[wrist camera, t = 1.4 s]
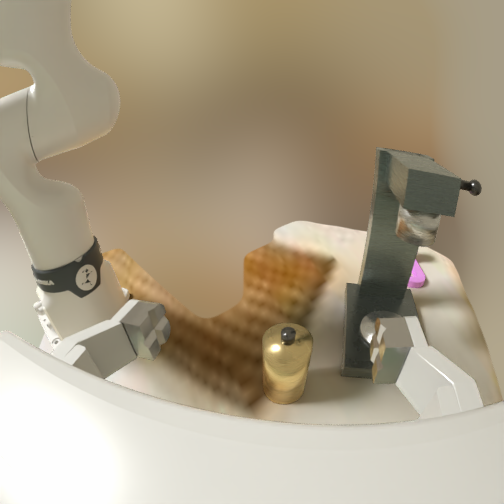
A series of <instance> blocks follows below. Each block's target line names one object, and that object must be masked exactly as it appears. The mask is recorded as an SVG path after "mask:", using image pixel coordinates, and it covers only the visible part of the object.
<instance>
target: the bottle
mask: <svg viewBox="0 0 504 504" xmlns="http://www.w3.org/2000/svg"><path fill="white" fill-rule="evenodd" d="M262 346H263V390H264V394H265V395H266V397H267V398H268V399H269V400H271V401H272V402H274V403H277V404H290V403H293V402H295V401H297V400H298V399H299V398H300V397H301V396H302V394H303V392H304V387H305V382H306V378H307V372H308V367H309V362H310V357H311V351H312V346H313V338H312V335H311V333H310V332H309V331H308V330H307V329H306V328H304V327H303V326H301V325H298V324H294V323H280V324H277V325H274V326H272V327H270V328H269V329H268V330H267V331H266V332H265V333H264V335H263V339H262Z"/></svg>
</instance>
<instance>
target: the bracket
mask: <svg viewBox="0 0 504 504" xmlns="http://www.w3.org/2000/svg"><path fill="white" fill-rule="evenodd" d="M412 274H413V276H414V277H412V276H410V279H409V283H408V286H409V287H412V288H419V287H421V286H423V284H424V281H425V275H424V273H423V271H422V269H421V268H420V266H419V264H418V262H417V261H416V259H415V262H414V266H413V269H412Z"/></svg>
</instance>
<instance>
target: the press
mask: <svg viewBox="0 0 504 504" xmlns="http://www.w3.org/2000/svg"><path fill="white" fill-rule="evenodd" d="M460 189H462V190H467V191H469V192H470V193H471V194H472V195H474V196H477V195H479V194H480V193H481V189H482V188H481V184H480V183H479V182H478V181H477V180H471V181H470V182H469V181H464V180H461V178H459V177H458V176H456V175H455V174H453V173H452V172H450V171H448V170H447V169H445V168H444V167H442V166H440V165H439V164H437V163H435V162H434V159H433V158H431V157H429V156H427V155H422V154H417V153H411V152H405V151H399V150H393V149H386V148H379V147H377V148H376V162H375V174H374V184H373V194H372V202H371V211H370V218H369V225H368V231H367V238H366V244H365V250H364V255H363V261H362V266H361V271H360V276H359V281H358V284H352V283H347V284H346V289H345V317H344V341H343V357H342V370H341V376H347V377H359V378H373V376H372V367H373V364H374V363H373V362H372V361H371V360H370V344H371V339H372V335H374V334H375V333H376V332H375V322H376V319H377V318H378V317H405V316H416V317H417V318H418V314H417V311H416V307H415V303H414V300H413V296H412V293H411V290H410V289H407V286H408V283H409V279H410V276H411V273H412V269H413V266H414V262H415V259H416V255H417V251H418V247H419V246H421V247H428V246H432V245H433V244H434V242H435V238H436V235H437V230H438V226H439V222H440V217H441V215H446V216H452V217H454V215H455V211H456V206H457V201H458V196H459V190H460ZM418 320H419V318H418ZM419 323H420V322H419Z"/></svg>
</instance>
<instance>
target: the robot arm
mask: <svg viewBox="0 0 504 504" xmlns="http://www.w3.org/2000/svg"><path fill="white" fill-rule="evenodd" d="M70 12H71V0H0V65H1V66H5V67H11V68H21V69H25V70H27V71H28V72H29V73H30V74H31V76H32V78H33V81H34V84H33V85H32V86H30V87H28V88H25V89H22V90H20V91H17V92H15V93H12V94H10V95H7V96H5V97H3V98H1V99H0V200H1V201H2V202H3V203H4V205H5V206H6V207H7V209H8V210H9V212H10V213H11V215H12V217H13V219H14V221H15V223H16V225H17V227H18V230H19V232H20V235H21V237H22V239H23V242H24V244H25V247H26V249H27V252H28V254H29V257H30V259H31V262H32V270H33V275H34V278H35V280H36V282H37V285H38V287H37V290H36V292H37V295H38V296H39V299H40V301H39V302H37V303H35V304H34V305H33V306H34V308H35V310H36V312H37V315H38V317H39V320H40V322H41V324H42V327H43V329H44V331H45V333H46V335H47V338H48V340H49V342H50V344H51V346H52V348H53V351H52V352H51V353H50V354H48V353H46V352H45V351H43V350H41V349H39V348H37V347H35V346H34V345H32V344H30V343H28V342H27V341H25V340H23V339H22V338H20V337H18V336H17V335H15V334H14V333H12V332H10V331H7V330H6V331H1V332H0V504H504V401H501V402H498V403H494V404H491V405H487V406H484V405H483V402H482V399H481V396H480V393H479V390H478V387H477V385H476V382H475V380H474V379H473V378H472V377H470V376H469V375H468V374H467V373H465V372H464V371H463V370H462V369H460V368H459V367H458V366H457V365H455V364H454V363H453V362H452V361H450V360H449V359H448V358H447V357H445V356H444V355H443V354H441V353H440V352H439V351H438V350H436V349H435V348H434V347H433V346H428V344H427V341H426V338H425V336H424V333H423V330H422V328H421V325H420V323H419V320H418V318H417V317H416V316H405V317H378V318H377V319H376V322H375V332H376V333H375V334H374V335H372V339H371V344H370V360H371V361H372V362H373V363H374V364H373V367H372V376H373V384H393V383H396V384H395V385H396V386H397V387H398V388H399V390H400V391H401V392H402V393H403V395H404V396H405V397H406V398H407V400H408V401H409V402H410V404H411V405H412V406H413V407H414V409H415V410H416V411H417V412H418V414H419V415H420V416H419V418H418V419H417V420H413V421H404V422H394V423H381V424H361V425H321V424H301V423H287V422H277V421H267V420H259V419H252V418H245V417H239V416H233V415H227V414H222V413H217V412H212V411H207V410H203V409H198V408H194V407H190V406H186V405H182V404H178V403H174V402H171V401H167V400H163V399H160V398H157V397H153V396H150V395H147V394H144V393H141V392H138V391H135V390H132V389H129V388H126V387H123V386H121V385H118V384H115V383H113V382H110V381H107V380H105V378H107V377H108V376H110V375H111V374H113V373H114V372H116V371H118V370H119V369H121V368H122V367H124V366H125V365H127V364H128V363H130V362H131V361H133V360H134V359H136V358H137V357H141V358H145V359H149V360H154V359H155V358H156V356H157V355H158V353H159V352H160V350H161V347H160V345H162V344H164V343H165V342H166V341H167V340H168V338H169V335H170V324H169V321H168V320H167V319H166V317H165V316H164V315H165V313H166V311H165V308H164V305H162V304H160V303H154V302H148V301H141V300H135V299H131V300H129V297H130V294H129V292H128V290H127V289H125V288H121V286H120V284H119V281H118V279H117V277H116V275H115V272H114V270H113V268H112V265H111V263H110V262H109V261H106V260H104V259H103V256H102V253H101V248H100V245H99V244H98V241H97V238H96V237H95V236H93V233H92V229H91V226H90V222H89V218H88V215H87V211H86V207H85V202H84V198H83V196H82V194H81V192H80V191H79V190H78V189H77V188H76V187H75V186H73V185H71V184H69V183H65V182H62V181H56V180H49V179H45V178H44V177H42V176H41V175H40V174H39V172H38V170H37V168H36V163H37V162H39V161H40V160H43V159H45V158H48V157H51V156H54V155H57V154H60V153H63V152H66V151H69V150H72V149H75V148H79V147H81V146H83V145H85V144H88V143H90V142H92V141H94V140H96V139H98V138H99V137H102V136H104V135H106V134H108V133H109V132H110V130H111V129H112V127H113V126H114V124H115V122H116V120H117V117H118V114H119V109H120V94H119V91H118V88H117V86H116V84H115V82H114V81H113V79H111V77H110V76H109V75H108V74H106V73H105V72H103V71H101V70H99V69H97V68H96V67H94V66H93V65H91V64H90V63H89V62H88V61H87V60H86V59H85V58H84V57H83V56H82V55H81V53H80V52H79V51H78V49H77V47H76V45H75V42H74V40H73V37H72V33H71V23H70V22H71V19H70V15H71V14H70ZM128 300H129V301H128Z"/></svg>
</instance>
